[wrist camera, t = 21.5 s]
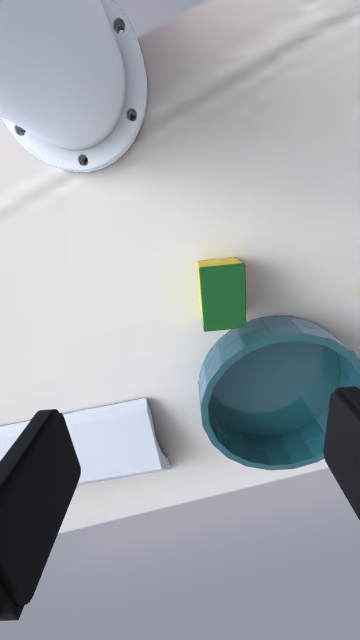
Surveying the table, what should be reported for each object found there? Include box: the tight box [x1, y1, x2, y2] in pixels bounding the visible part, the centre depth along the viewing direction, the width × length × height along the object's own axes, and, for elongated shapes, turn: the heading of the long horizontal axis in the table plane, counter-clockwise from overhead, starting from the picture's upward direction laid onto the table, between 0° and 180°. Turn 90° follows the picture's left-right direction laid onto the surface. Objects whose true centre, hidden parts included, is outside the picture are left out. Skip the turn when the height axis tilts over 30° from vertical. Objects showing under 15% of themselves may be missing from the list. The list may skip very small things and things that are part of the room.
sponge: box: [197, 257, 246, 331], centre depth 26 cm, size 6×4×4 cm, turn 6°
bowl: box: [199, 316, 360, 470], centre depth 30 cm, size 18×18×5 cm
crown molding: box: [0, 398, 171, 485], centre depth 35 cm, size 29×12×4 cm, turn 104°
